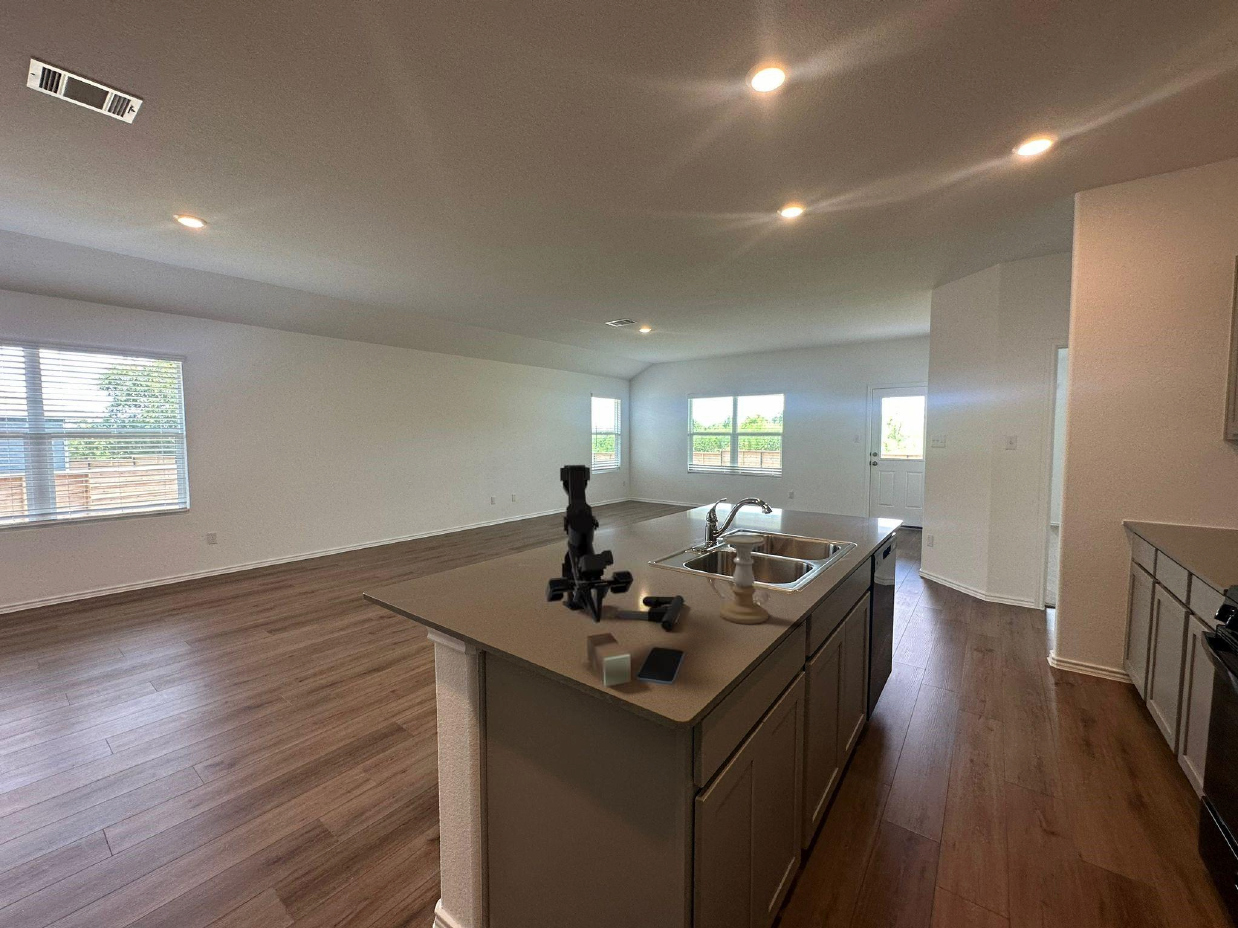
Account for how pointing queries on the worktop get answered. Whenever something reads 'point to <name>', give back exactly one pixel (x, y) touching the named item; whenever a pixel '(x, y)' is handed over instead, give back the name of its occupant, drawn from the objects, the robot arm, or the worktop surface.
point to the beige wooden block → (608, 659)
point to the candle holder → (743, 583)
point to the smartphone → (661, 665)
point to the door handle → (658, 610)
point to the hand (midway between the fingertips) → (598, 621)
